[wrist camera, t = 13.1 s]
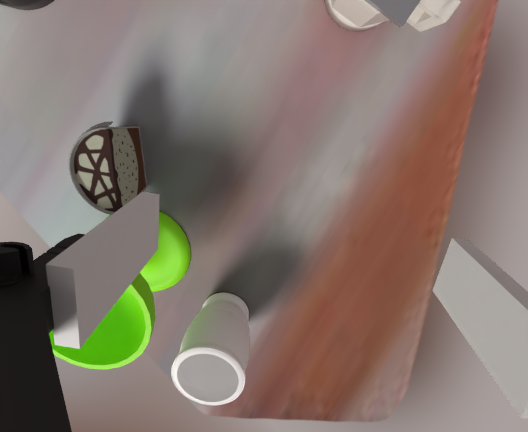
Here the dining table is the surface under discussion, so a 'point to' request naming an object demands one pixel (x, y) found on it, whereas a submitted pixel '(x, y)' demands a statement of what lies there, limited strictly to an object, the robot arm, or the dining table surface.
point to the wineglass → (133, 306)
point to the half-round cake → (108, 166)
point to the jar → (214, 352)
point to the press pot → (389, 13)
